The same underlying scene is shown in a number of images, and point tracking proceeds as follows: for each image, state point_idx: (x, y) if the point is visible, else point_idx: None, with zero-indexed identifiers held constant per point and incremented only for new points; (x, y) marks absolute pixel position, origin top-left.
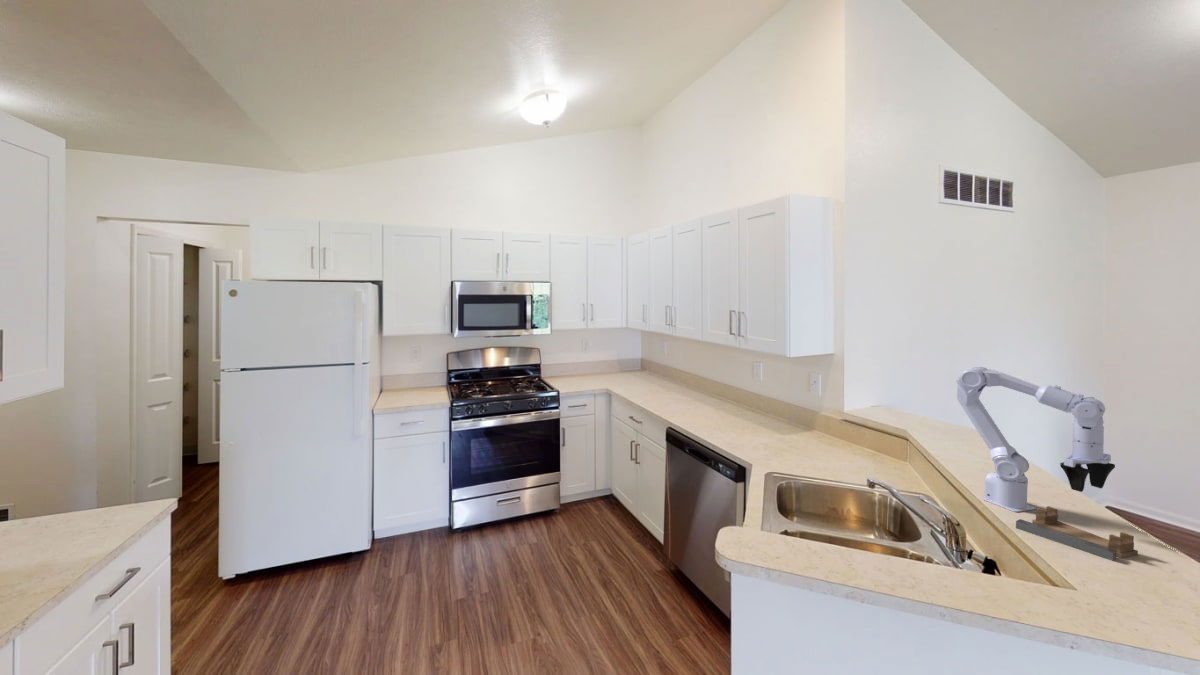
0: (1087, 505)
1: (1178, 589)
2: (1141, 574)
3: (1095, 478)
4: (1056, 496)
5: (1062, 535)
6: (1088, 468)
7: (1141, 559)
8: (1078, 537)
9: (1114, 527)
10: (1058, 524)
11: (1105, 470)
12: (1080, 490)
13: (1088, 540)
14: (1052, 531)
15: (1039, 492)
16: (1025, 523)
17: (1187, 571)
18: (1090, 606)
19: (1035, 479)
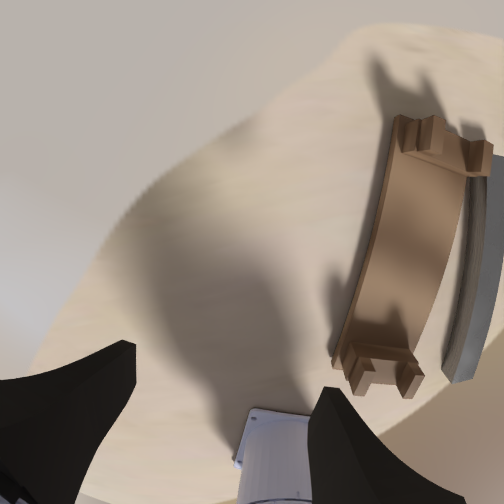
0: (65, 329)
1: (494, 50)
2: (497, 103)
3: (106, 405)
4: None
5: (495, 278)
6: (83, 476)
7: (412, 107)
8: (445, 255)
9: (174, 231)
10: (378, 329)
11: (44, 424)
12: (343, 395)
13: (447, 229)
14: (485, 304)
15: None
16: (473, 362)
17: (378, 26)
18: None
19: None
